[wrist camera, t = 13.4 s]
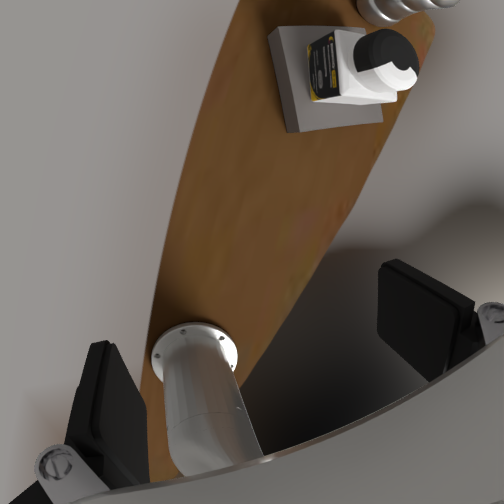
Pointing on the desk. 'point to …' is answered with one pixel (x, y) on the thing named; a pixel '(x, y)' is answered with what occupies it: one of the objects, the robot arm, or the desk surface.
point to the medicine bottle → (361, 67)
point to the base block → (298, 83)
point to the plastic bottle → (397, 9)
